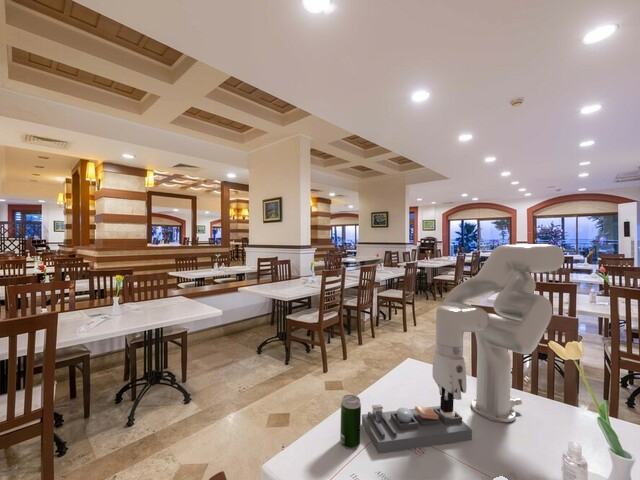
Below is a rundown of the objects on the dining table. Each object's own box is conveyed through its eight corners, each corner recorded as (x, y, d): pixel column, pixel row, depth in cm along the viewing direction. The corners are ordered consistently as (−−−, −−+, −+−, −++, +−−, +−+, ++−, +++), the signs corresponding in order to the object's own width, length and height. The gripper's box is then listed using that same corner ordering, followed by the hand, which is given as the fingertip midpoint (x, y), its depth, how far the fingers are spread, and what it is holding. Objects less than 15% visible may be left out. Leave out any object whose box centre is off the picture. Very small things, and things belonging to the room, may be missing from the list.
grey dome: (407, 413, 86) (407, 407, 86) (414, 422, 82) (414, 415, 82) (394, 415, 85) (394, 408, 85) (401, 423, 81) (401, 416, 81)
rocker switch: (429, 411, 87) (430, 407, 87) (438, 419, 83) (438, 415, 83) (414, 409, 86) (415, 405, 86) (422, 417, 82) (422, 413, 82)
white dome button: (448, 412, 89) (449, 406, 89) (457, 420, 85) (457, 413, 85) (437, 414, 88) (437, 407, 88) (445, 422, 84) (445, 415, 84)
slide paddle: (379, 415, 86) (380, 403, 86) (383, 420, 84) (383, 408, 84) (371, 416, 86) (371, 404, 86) (374, 421, 83) (374, 409, 83)
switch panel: (444, 414, 93) (445, 400, 93) (471, 440, 81) (472, 424, 81) (361, 424, 87) (362, 409, 87) (378, 453, 75) (378, 436, 75)
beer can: (348, 453, 75) (349, 407, 75) (336, 441, 79) (337, 397, 79) (364, 445, 78) (365, 401, 78) (351, 434, 82) (352, 392, 82)
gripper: (478, 358, 79) (476, 425, 79) (444, 339, 94) (442, 396, 94) (454, 359, 78) (452, 428, 78) (423, 340, 93) (421, 398, 92)
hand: (446, 410), depth 86 cm, fingers closed
